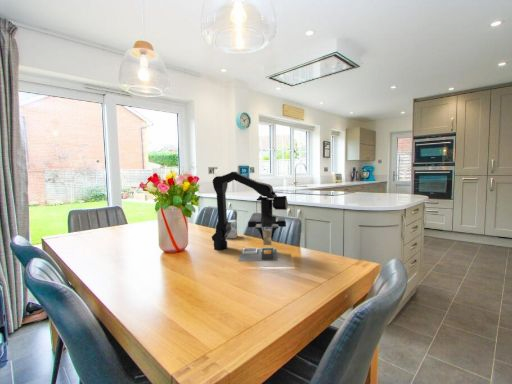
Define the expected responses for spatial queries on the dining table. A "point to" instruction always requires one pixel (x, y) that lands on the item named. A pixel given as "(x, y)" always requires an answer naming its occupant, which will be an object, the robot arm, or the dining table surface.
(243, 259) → the grey shape sorting board
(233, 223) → the light bulb box
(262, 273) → the dining table surface
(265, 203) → the robot arm
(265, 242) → the block
